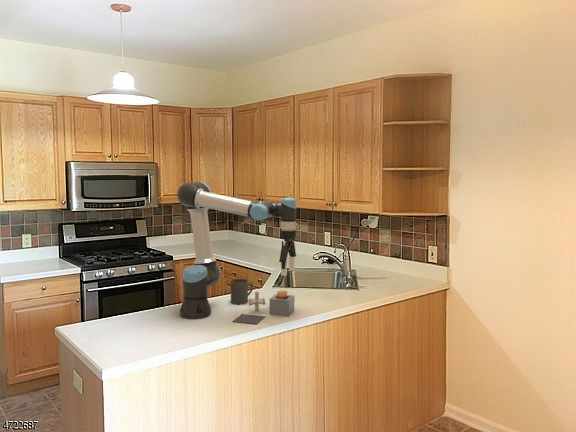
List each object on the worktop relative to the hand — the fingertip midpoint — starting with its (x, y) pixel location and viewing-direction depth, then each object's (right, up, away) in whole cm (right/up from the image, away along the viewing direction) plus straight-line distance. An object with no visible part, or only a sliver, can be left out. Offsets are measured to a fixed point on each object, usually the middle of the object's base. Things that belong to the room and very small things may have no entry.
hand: (287, 272), depth 242 cm
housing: (-3, -21, +3) cm, 21 cm away
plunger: (-3, -12, +3) cm, 13 cm away
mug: (-24, -19, +23) cm, 38 cm away
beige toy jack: (-16, -20, +6) cm, 26 cm away
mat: (-18, -22, -8) cm, 29 cm away
